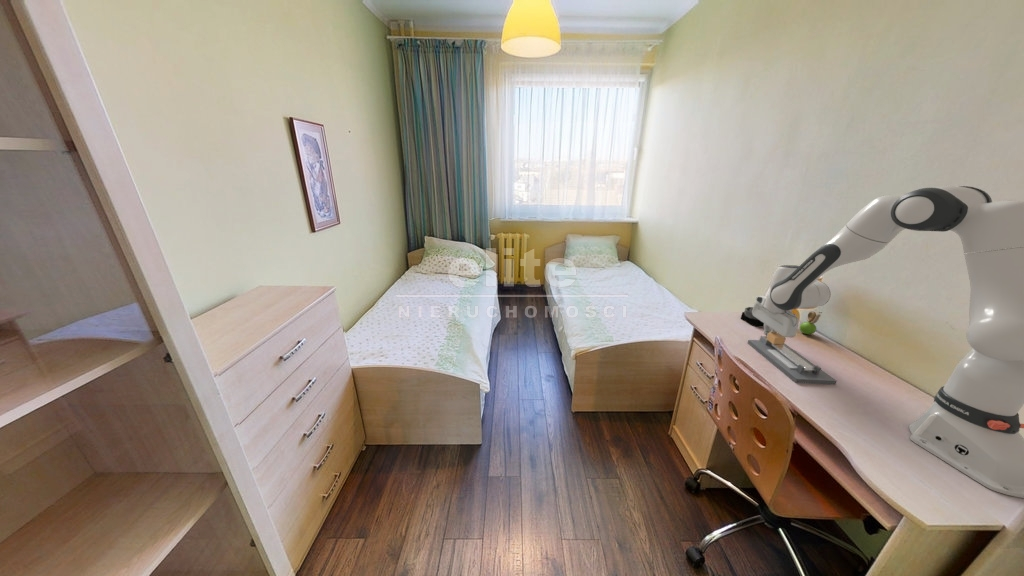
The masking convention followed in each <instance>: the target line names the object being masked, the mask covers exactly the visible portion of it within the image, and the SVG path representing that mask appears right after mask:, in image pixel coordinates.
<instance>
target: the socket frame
mask: <svg viewBox="0 0 1024 576" xmlns="http://www.w3.org/2000/svg"><path fill="white" fill-rule="evenodd" d="M766 338H767V336H766V335H763V336H762V335H761V336H760V338H759V339H747V344H748V345H749V346H751V347H752V348H753V349H754V350H755V351H756V352H757V353H758V354H760V355H761V356H762V357H764V358H765V359H766V360H767V361H768V362H770V363H771V364H772V365H773V366H774V367H775V368H777V369H778V370H779V371H780V372H781V373H783V374H784V375H785V376H786V377H788V379H790V380H791V381H792V382H794V383H796V384H813V385H814V384H817V385H818V384H819V385H836V384H837V383H838V380H837V379H835V378H834V377H832V376H831V375H830V374H828V373H827V372H825V371H824V370H823V369H822V367H820V366H819V365H815V364H814V363H813V362H811V361H810V360H809V359H808V358H806V357H804V356H803V355H802V354H801V353H799V352H797V351H796V350H794V349H793V348H792V347H790V346H789V345H787V344H786V343H785V342H784V344H783V345H784V346H785V347H787V348H788V349H789V350H791V351H792V352H793V353H795V354H796V355H797V356H799V357H800V358H801V359H803V360H804V361H805V362H807V363H808V364H809V365H811V366H812V367H815V368H816V371H804V368H805V367H803V366H802V365H796V364H795V363H794V362H793V361H791V360H790V359H789V358H787V357H786V356H785V355H784V354H782V353H781V352H780V351H779V350H777V349H776V348H775V347H773V346H772V343H771V342H770V341H768V340H767V339H766Z"/></svg>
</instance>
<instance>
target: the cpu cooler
mask: <svg viewBox="0 0 1024 576" xmlns="http://www.w3.org/2000/svg"><path fill="white" fill-rule="evenodd" d="M753 307H754V306H748V307H745V308H744V311H742V313H741V316H740V320H742V321H744V322H746V323H747V324H749V325H751V326H753V327H759V328H760V327H764V323H763V322H761V321H760V320H759V319H757V318H756V317H754V316H753V314H752V310H753Z"/></svg>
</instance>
